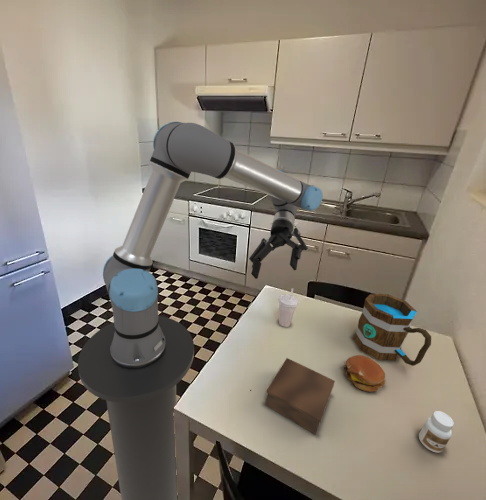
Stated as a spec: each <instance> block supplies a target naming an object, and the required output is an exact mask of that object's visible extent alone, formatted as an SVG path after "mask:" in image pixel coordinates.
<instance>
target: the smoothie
mask: <svg viewBox="0 0 486 500" xmlns="http://www.w3.org/2000/svg"><path fill="white" fill-rule="evenodd" d="M293 293H294V287H292V288H291V289H290V294H289V293H288V294H285V293H284V294H281V295H280V296H279V297H278V303H279V304H278V305H279V308H278V324H279V325H280V326H281V327H283V328H288V327H290V326H291V323H292V320H293V317H294V315H295V312H296V310H297V307H298V306H299V299H298V298H297V297H296V296H294V295H293Z"/></svg>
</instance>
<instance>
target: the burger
mask: <svg viewBox="0 0 486 500" xmlns="http://www.w3.org/2000/svg"><path fill="white" fill-rule="evenodd" d="M344 364H345V366H344V368H343V369H344V371H345V376H346V377H347V380H349V381H351V382H352V383H353V385H354V386H355V387H356V388H357V389H359V390H361V391H364V392H369V393H373V392H377V391H378V390H379V389H381V388H382V387H384V385H385V383H386V380H385V379H386V373H385V371H384V369H383V367H382V366H381V365H380V364H379V363H377V362H376V361H375V360H374V359H372V358H371V357H369V356H366V355H364V354H356V355H355V354H354V355H352V356H350V357H348V358H347V359H346V360H345V362H344Z"/></svg>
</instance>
